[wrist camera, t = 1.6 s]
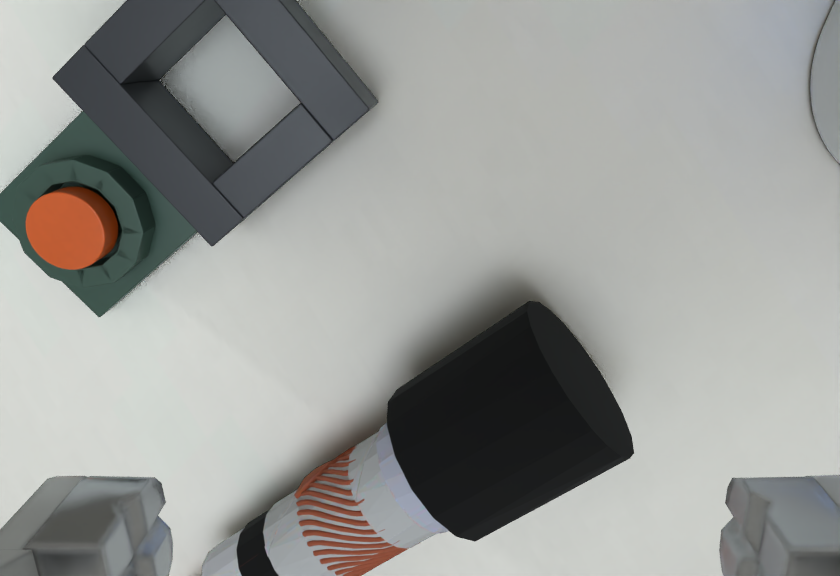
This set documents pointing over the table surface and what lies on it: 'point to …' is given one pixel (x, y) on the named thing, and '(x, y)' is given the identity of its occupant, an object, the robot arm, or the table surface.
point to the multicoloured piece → (447, 457)
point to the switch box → (127, 196)
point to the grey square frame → (180, 134)
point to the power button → (71, 227)
